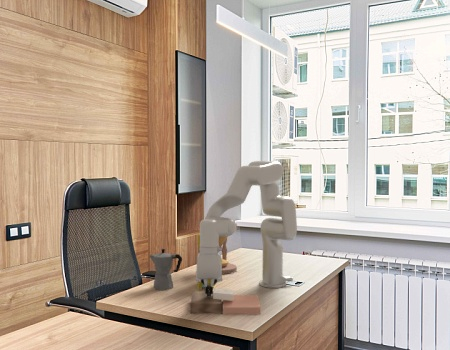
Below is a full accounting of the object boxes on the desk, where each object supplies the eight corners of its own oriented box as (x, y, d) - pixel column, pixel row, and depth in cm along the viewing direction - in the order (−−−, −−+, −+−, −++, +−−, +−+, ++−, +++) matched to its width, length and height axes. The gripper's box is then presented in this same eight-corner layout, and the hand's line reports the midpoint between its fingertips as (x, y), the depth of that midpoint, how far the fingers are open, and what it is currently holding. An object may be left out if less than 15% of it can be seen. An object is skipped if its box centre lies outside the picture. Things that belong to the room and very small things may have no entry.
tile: (233, 296, 190) (233, 290, 190) (233, 300, 184) (233, 294, 184) (213, 294, 190) (214, 288, 190) (213, 299, 184) (213, 292, 184)
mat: (257, 300, 195) (257, 295, 195) (260, 313, 179) (260, 307, 179) (222, 300, 195) (222, 295, 195) (222, 313, 179) (222, 307, 179)
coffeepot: (146, 290, 211) (146, 250, 211) (151, 284, 221) (151, 246, 220) (180, 290, 210) (180, 251, 209) (183, 285, 219) (183, 247, 219)
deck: (221, 300, 195) (221, 291, 195) (221, 313, 179) (221, 303, 179) (193, 300, 195) (193, 291, 195) (190, 313, 179) (190, 303, 179)
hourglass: (225, 276, 236) (225, 227, 235) (197, 271, 246) (197, 224, 245) (242, 269, 251) (242, 222, 250) (215, 265, 260) (215, 220, 259)
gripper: (227, 248, 190) (227, 293, 191) (191, 248, 190) (191, 292, 191) (227, 252, 183) (227, 298, 183) (189, 252, 183) (189, 298, 183)
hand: (209, 295), depth 187 cm, fingers closed
